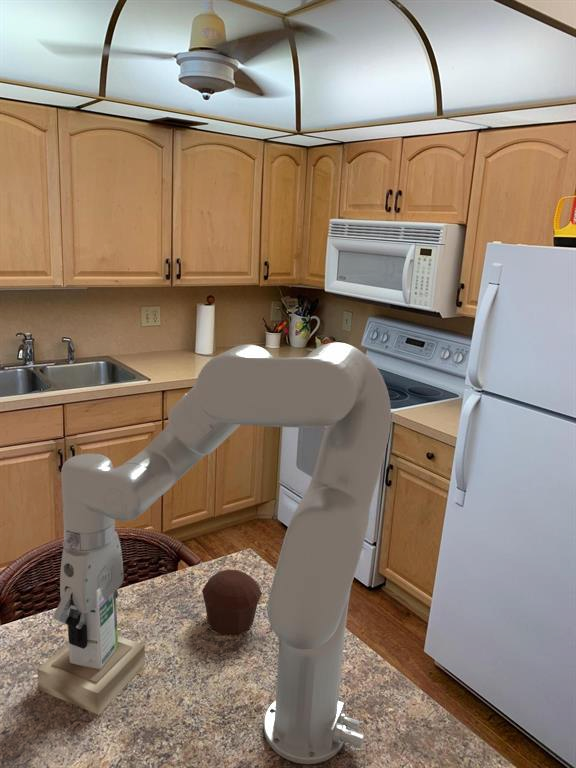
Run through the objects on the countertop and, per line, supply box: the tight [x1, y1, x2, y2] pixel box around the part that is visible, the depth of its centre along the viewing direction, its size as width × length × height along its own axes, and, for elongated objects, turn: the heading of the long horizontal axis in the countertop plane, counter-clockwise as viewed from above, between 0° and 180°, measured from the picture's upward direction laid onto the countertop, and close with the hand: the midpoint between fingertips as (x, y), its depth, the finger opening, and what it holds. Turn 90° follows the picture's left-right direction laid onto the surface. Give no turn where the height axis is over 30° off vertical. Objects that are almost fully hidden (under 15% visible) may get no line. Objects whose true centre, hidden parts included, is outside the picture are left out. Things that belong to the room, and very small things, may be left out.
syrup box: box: [66, 588, 119, 669], centre depth 94 cm, size 6×6×14 cm
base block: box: [37, 635, 146, 716], centre depth 96 cm, size 12×12×4 cm
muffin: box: [201, 569, 263, 637], centre depth 111 cm, size 12×11×10 cm
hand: (93, 631), depth 94 cm, fingers closed on syrup box, 6 cm apart
